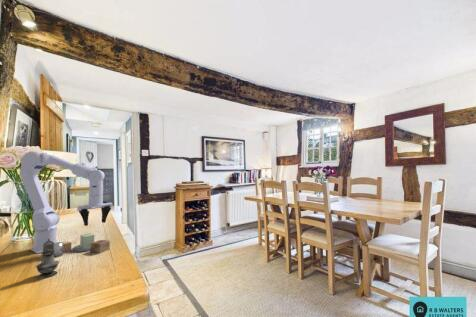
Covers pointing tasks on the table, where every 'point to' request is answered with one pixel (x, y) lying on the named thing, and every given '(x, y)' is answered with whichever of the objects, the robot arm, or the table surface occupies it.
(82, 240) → the sage block
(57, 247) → the grey tin
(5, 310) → the table surface
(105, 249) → the walnut block
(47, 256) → the dark grey tall piece
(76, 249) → the coaster
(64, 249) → the terracotta block
